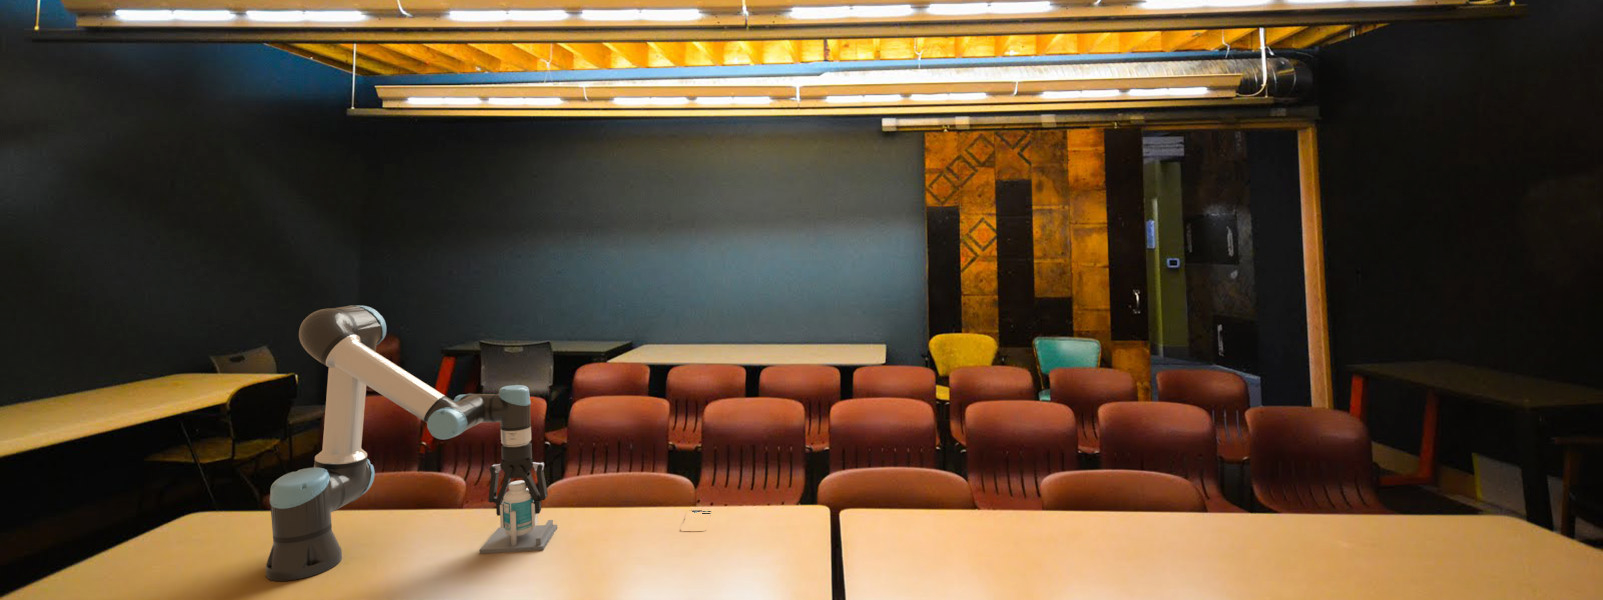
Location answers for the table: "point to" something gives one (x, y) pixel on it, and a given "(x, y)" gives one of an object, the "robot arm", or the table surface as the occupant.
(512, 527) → the grey peg board
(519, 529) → the pill bottle
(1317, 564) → the table surface
